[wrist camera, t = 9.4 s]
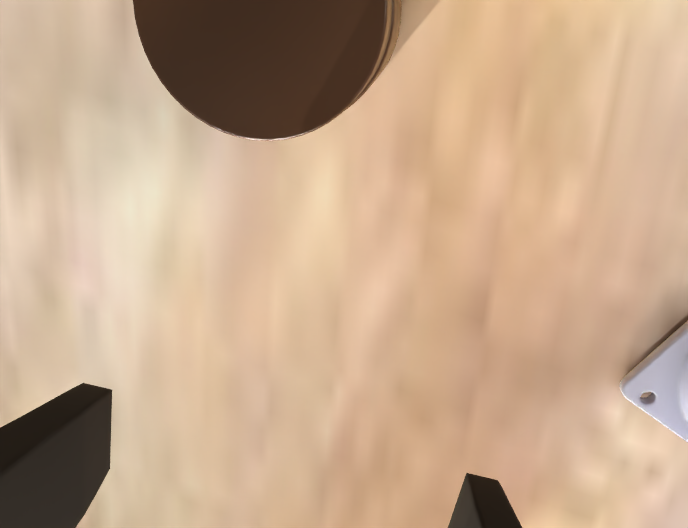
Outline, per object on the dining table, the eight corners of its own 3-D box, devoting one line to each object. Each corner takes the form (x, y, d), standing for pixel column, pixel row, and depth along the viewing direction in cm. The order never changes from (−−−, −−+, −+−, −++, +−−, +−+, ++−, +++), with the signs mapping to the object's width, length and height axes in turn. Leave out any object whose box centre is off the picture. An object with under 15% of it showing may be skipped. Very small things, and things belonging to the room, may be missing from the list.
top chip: (440, -23, 14) (443, -29, 12) (310, 168, 16) (295, 188, 14) (239, -180, 13) (209, -212, 11) (130, 41, 15) (90, 44, 13)
